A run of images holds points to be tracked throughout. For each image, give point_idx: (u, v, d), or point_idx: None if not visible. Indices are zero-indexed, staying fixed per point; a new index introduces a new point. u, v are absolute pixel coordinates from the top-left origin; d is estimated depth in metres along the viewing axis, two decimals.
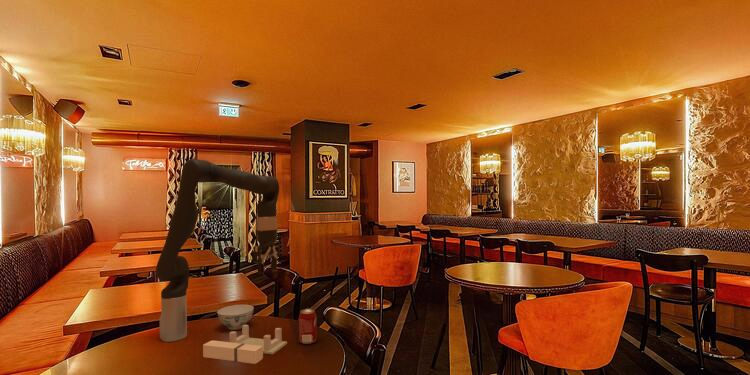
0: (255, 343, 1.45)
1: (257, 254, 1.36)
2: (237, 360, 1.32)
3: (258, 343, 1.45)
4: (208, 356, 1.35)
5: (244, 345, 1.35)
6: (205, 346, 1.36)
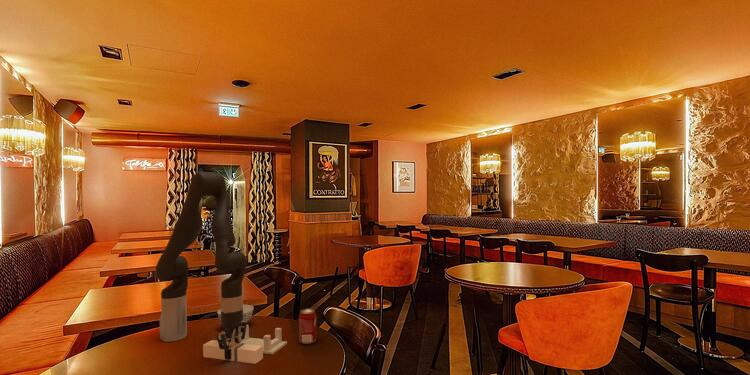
0: (255, 343, 1.45)
1: (222, 342, 1.29)
2: (237, 360, 1.32)
3: (258, 343, 1.45)
4: (208, 356, 1.35)
5: (244, 345, 1.35)
6: (205, 346, 1.36)
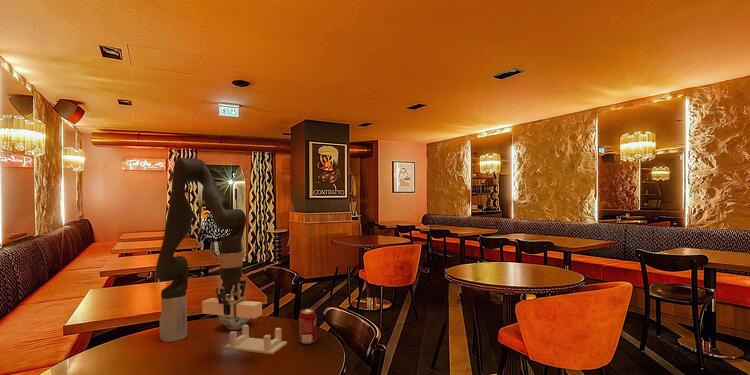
0: (255, 343, 1.45)
1: (221, 297, 1.29)
2: (236, 315, 1.32)
3: (258, 343, 1.45)
4: (207, 312, 1.36)
5: (243, 301, 1.35)
6: (204, 302, 1.36)
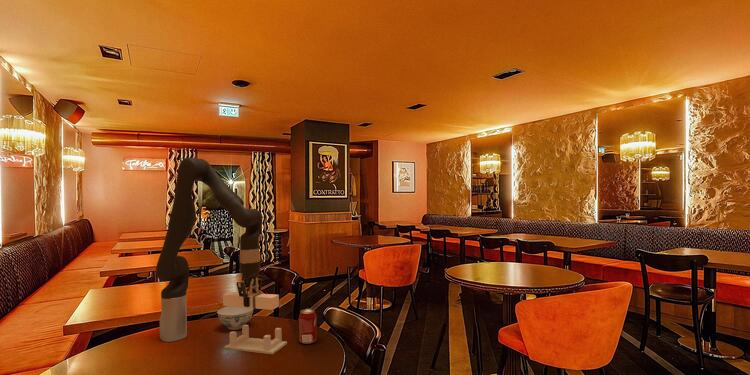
0: (255, 343, 1.45)
1: (241, 290, 1.40)
2: (255, 307, 1.42)
3: (258, 343, 1.45)
4: (228, 305, 1.46)
5: (261, 294, 1.45)
6: (225, 295, 1.47)
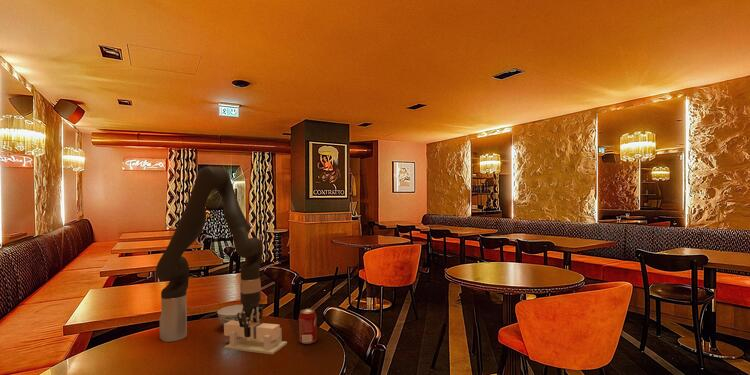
0: (255, 343, 1.45)
1: (242, 320, 1.40)
2: (256, 337, 1.42)
3: (258, 343, 1.45)
4: (229, 334, 1.46)
5: (262, 324, 1.45)
6: (226, 325, 1.46)
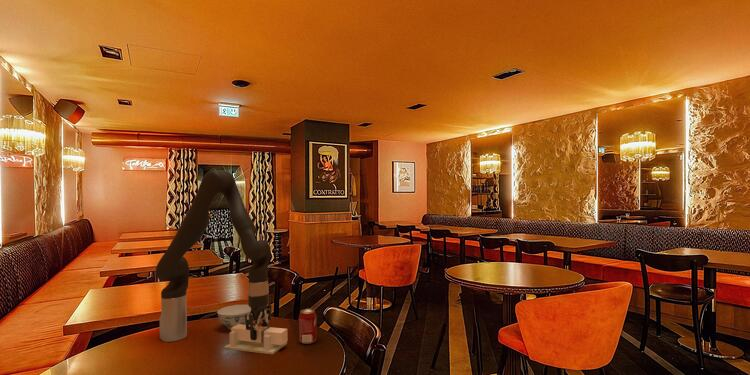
0: (255, 343, 1.45)
1: (249, 322, 1.38)
2: None
3: (258, 343, 1.45)
4: None
5: (270, 328, 1.44)
6: (233, 329, 1.45)
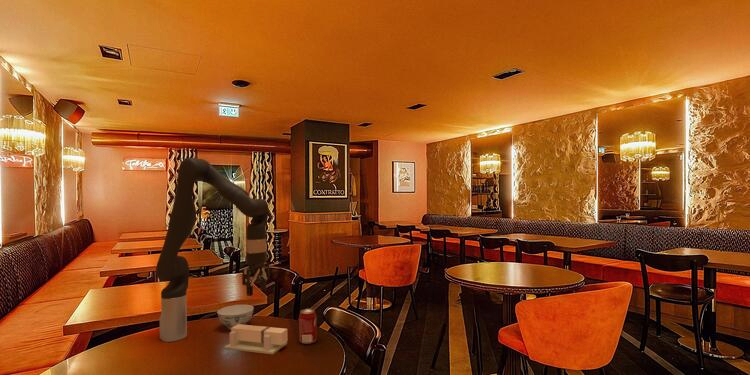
0: (255, 343, 1.45)
1: (246, 277, 1.39)
2: None
3: (258, 343, 1.45)
4: None
5: (270, 328, 1.44)
6: (233, 329, 1.45)
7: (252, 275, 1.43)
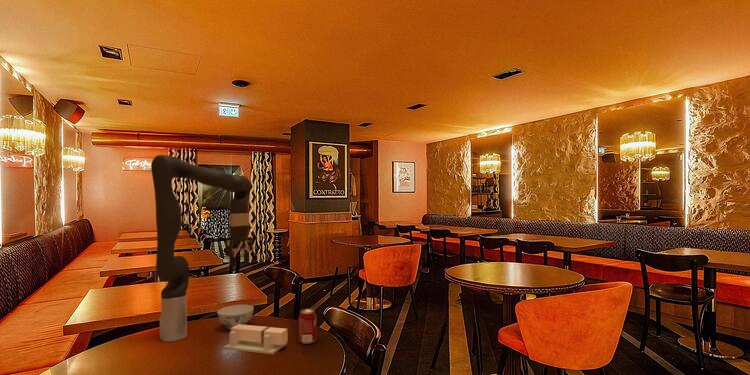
0: (255, 343, 1.45)
1: (229, 248, 1.47)
2: None
3: (258, 343, 1.45)
4: None
5: (270, 328, 1.44)
6: (233, 329, 1.45)
7: (235, 247, 1.51)
